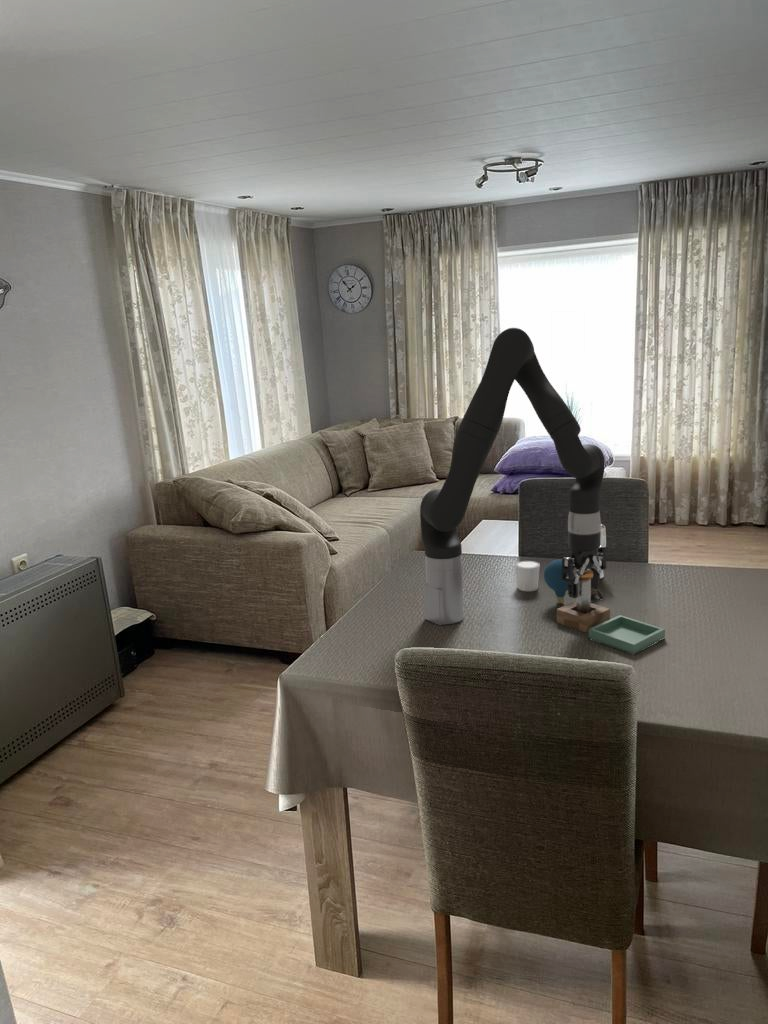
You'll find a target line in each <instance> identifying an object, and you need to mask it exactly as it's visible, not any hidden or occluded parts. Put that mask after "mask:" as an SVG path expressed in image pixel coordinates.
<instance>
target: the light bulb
mask: <svg viewBox="0 0 768 1024" xmlns="http://www.w3.org/2000/svg"><path fill="white" fill-rule="evenodd" d="M562 559H563V558H561V559H560V558H559V559H554V560H552V561H550V562H549V563H548V564H547V565H546V567H545V569H544V571H543V572H544V573H543V578H544V581H545V584H546V585H547V586H548V587H549V588H550V589H552V591H554V594H555V596H556V602H557V603H558V604H563V603H564V602H565V596H566V593H567V592H568V583H567V582H564V581H562ZM574 570H577V569H576V568H574ZM567 576H568V573H566V577H567ZM573 578H574V574H573Z"/></svg>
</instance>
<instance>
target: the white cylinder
mask: <svg viewBox="0 0 768 1024" xmlns="http://www.w3.org/2000/svg"><path fill="white" fill-rule="evenodd" d="M540 565H541V563H540V562H537V561H534V560H521V561H518V562H516V563H515V564H514V566H515V575H516V585H517V586H516V587H517V589H518V590H519V591H522V592H534V591H537V590H538V588H539V577H540V567H541V566H540Z"/></svg>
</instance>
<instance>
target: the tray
mask: <svg viewBox="0 0 768 1024" xmlns="http://www.w3.org/2000/svg"><path fill="white" fill-rule="evenodd" d="M664 637H666V629H665V628H663V627H659V626H656V625H653V624H649V623H646V622H644V621H641V620H637V619H635V618H630V617H628V616H624V615H622V614H619V615H617V616H615V617H612V618H610V620H608V621H606V622H603V623H601V624H599V625H597V626H594V627H592V628H590V629H589V632H588V640H590V639H592V640H591V641H593V640H594V642H596V641H597V643H598V642H600V643H599V644H601V643H603V644H602V645H604V644H605V645H604V646H607V645H608V647H610V648H612V647H613V649H615V648H616V649H615V650H618V649H619V650H618V651H621V650H622V651H621V652H623V651H625V652H624V653H626V652H628V653H627V654H629V653H631V654H630V655H632V654H635V653H637V652H639V651H641V650H642V649H644V648H646V647H648V646H650V645H652V644H654V643H655V642H657V641H659V640H660V639H662V638H664ZM641 652H642V651H641ZM639 653H640V652H639ZM637 654H638V653H637ZM635 655H636V654H635Z"/></svg>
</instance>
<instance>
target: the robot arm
mask: <svg viewBox="0 0 768 1024" xmlns="http://www.w3.org/2000/svg"><path fill="white" fill-rule="evenodd" d="M482 375H483V376H482V378H481V380H480V382H479V384H478V387H477V388H476V390H475V392H474V394H473V396H472V397H471V400H470V402H469V404H468V406H467V409H466V411H465V413H464V415H463V417H462V420H461V421H460V424H459V426H458V429H457V431H456V434H455V436H454V441H453V447H452V452H451V462H450V467H449V471H448V474H447V476H446V479H445V481H444V483H443V485H442V487H441V488H437V489H432V490H430V491H428V492H427V493H426V494H425V495H424V496H423V498H422V500H421V501H420V505H419V506H420V507H419V508H420V509H419V511H420V512H419V513H420V514H419V518H420V528H421V529H420V530H421V540H422V544H423V547H424V558H425V559H424V561H425V583H424V584H423V585H422V587H423V589H422V592H423V608H424V611H423V612H424V619H425V620H426V621H429V622H431V623H433V624H436V625H438V626H442V625H443V626H444V625H451V624H457V623H460V622H461V621H463V620H464V617H465V616H464V615H465V612H464V590H463V589H464V585H463V583H464V582H463V578H464V577H463V556H462V555H463V552H462V551H463V550H462V543H461V540H460V538H459V535H458V531H457V530H458V529H457V528H458V527H459V526H460V524H462V522H463V520H464V517H465V515H466V513H467V510H468V507H469V503H470V500H471V498H472V497H471V496H472V494H473V491H474V487H475V485H476V482H477V480H478V479H479V475H480V474H481V471H482V469H483V468H484V464H485V463H486V460H487V458H488V456H489V453H490V452H491V449H492V447H493V445H494V443H495V441H496V438H497V436H498V433H499V431H500V429H501V426H502V423H503V419H504V415H505V411H506V406H507V401H508V398H509V394H510V391H511V389H512V386H513V384H514V381H515V382H516V383H517V384H518V385H519V386H520V388H521V389H522V391H523V392H524V394H525V395H526V397H527V398H528V400H529V402H530V404H531V405H532V408H533V409H534V412H535V413H536V416H537V417H538V419H539V421H540V423H541V424H542V426H543V427H544V429H545V430H546V432H547V434H548V436H550V438H551V440H552V442H553V444H554V447H555V451H556V452H557V453H556V454H557V456H558V458H559V461H560V463H561V465H562V468H563V469H564V470H565V472H566V473H567V474H568V475H569V476H570V477H572V478H575V481H574V484H573V486H572V487H571V488H570V489H569V492H568V493H569V494H568V517H567V547H568V548H569V549H570V551H571V555H570V557H566V556H564V557H563V558H561V559H562V581H564V582H567V583H568V590H567V594H568V597H570V598H573V599H576V598H577V597H578V583H577V582H578V580H579V577H580V576H582V575H583V572H584V571H586V570H587V569H590V570H591V571H592V572H593V578H591V587H592V588H595V589H598V590H599V588H600V584H601V582H600V581H601V579H600V574H601V572H602V570H603V571H604V570H606V569H607V554H606V553H607V552H606V547H603V546H601V524H602V520H601V519H602V518H601V511H600V509H601V508H600V507H601V506H600V504H601V503H600V501H601V499H600V494H601V493H600V492H601V487H602V483H603V478H604V473H605V468H606V467H605V465H606V461H605V455H604V452H603V451H602V450H601V448H600V447H599V446H597V445H595V444H591V443H589V444H587V443H586V444H584V445H583V443H582V441H581V439H580V437H579V435H580V433H581V430H582V429H581V426H580V424H579V422H578V421H577V418H576V417H575V416H574V414H573V413H572V410H570V408H569V407H568V405H567V404H566V402H565V401H564V399H563V398H562V397H561V395H560V394H559V393H558V392H557V390H556V389H555V388H554V386H553V385H552V383H551V382H550V381H549V378H548V377H547V375H546V374H545V372H544V370H543V369H542V367H541V364H540V362H539V359H538V357H537V354H536V352H535V347H534V344H533V341H532V340H531V338H530V336H529V335H528V333H527V332H526V331H525V330H523V329H521V328H519V327H509V328H506V329H504V330H503V331H501V332H500V333H499V334H498V335H497V336H496V338H495V339H494V341H493V344H492V347H491V351H490V354H489V357H488V360H487V363H486V366H485V369H484V372H483V374H482ZM599 560H601V563H602V564H599ZM574 568H575V569H576V570H578V571H576V570H574ZM566 573H568V576H567V577H566ZM573 574H576V575H575V577H574V578H573Z"/></svg>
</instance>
